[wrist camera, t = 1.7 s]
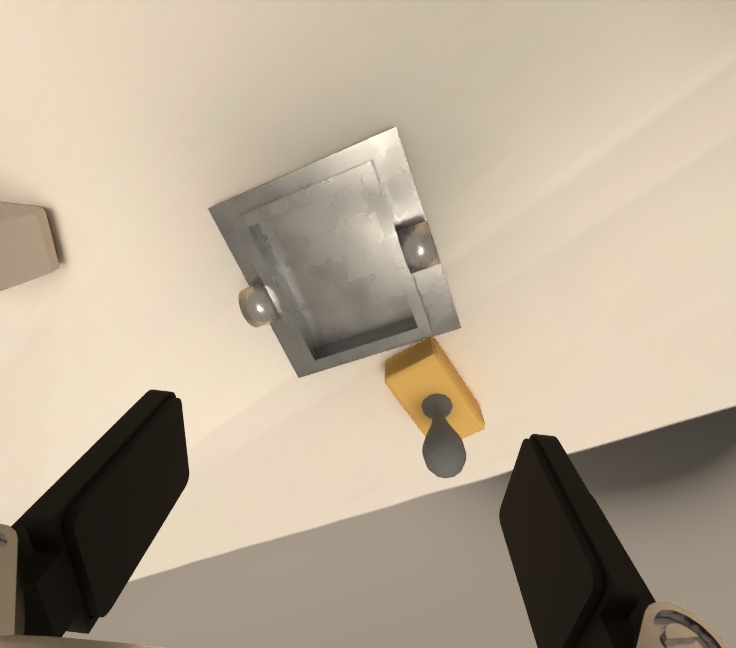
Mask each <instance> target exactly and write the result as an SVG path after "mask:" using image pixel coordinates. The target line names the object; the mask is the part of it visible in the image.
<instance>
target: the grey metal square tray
mask: <svg viewBox="0 0 736 648" xmlns="http://www.w3.org/2000/svg"><path fill="white" fill-rule="evenodd" d="M208 209H209V211H210V213H211V215H212V217H213V219H214V221H215V222H216V224H217V226H218V228H219V230H220V232H221V234H222V236H223V237H224V239H225V241H226V243H227V245H228V247H229V249H230V250H231V252H232V254H233V256H234V258H235V260H236V262H237V264H238V265H239V267H240V269H241V271H242V273H243V275H244V277H245V278H246V280H247V282H248V284H249V286H250V287H249V288H246V289H243V290H241V292H240V294H239V305H240V309H241V311H242V314H243V316H244V317H245V319H246V320H247V322H248V323H249V324H250V325H251V326H253V327H260V326H263V325H266V324H269V323H270V325H271V327H272V329H273V331H274V333H275V335H276V336H277V338H278V340H279V342H280V344H281V346H282V348H283V349H284V351H285V353H286V355H287V357H288V359H289V361H290V363H291V364H292V366H293V368H294V370H295V372H296V374H297V376H298V377H299V378H300V377H303V376H306V375H310V374H313V373H316V372H319V371H323V370H326V369H329V368H332V367H336V366H339V365H342V364H345V363H349V362H352V361H355V360H358V359H362V358H365V357H368V356H371V355H375V354H378V353H381V352H384V351H388V350H391V349H394V348H397V347H401V346H404V345H407V344H410V343H414V342H417V341H420V340H423V339H427V338H430V337H433V336H436V335H440V334H443V333H446V332H449V331H453V330H456V329H459V328H461V326H460V323H459V320H458V317H457V314H456V310H455V307H454V304H453V301H452V298H451V295H450V292H449V289H448V286H447V283H446V280H445V276H444V273H443V270H442V267H441V263H440V260H439V257H438V253H437V250H436V247H435V244H434V241H433V238H432V235H431V232H430V229H429V226H428V223H427V221H426V218H425V215H424V211H423V208H422V205H421V202H420V199H419V196H418V193H417V190H416V187H415V184H414V181H413V177H412V174H411V171H410V168H409V165H408V162H407V159H406V156H405V153H404V150H403V147H402V143H401V140H400V137H399V134H398V131H397V128H396V127H394V128H392V129H390V130H387V131H385V132H383V133H380V134H378V135H376V136H373V137H371V138H369V139H367V140H364V141H362V142H360V143H357V144H355V145H353V146H351V147H348V148H346V149H344V150H341V151H339V152H337V153H334V154H332V155H330V156H328V157H325V158H323V159H321V160H318V161H316V162H314V163H312V164H309V165H307V166H305V167H302V168H300V169H298V170H295V171H293V172H291V173H289V174H286V175H284V176H282V177H279V178H277V179H275V180H273V181H270V182H268V183H266V184H263V185H261V186H259V187H256V188H254V189H252V190H250V191H247V192H245V193H243V194H240V195H238V196H236V197H233V198H231V199H229V200H227V201H224V202H222V203H220V204H217V205H215V206H213V207H211V208H208Z"/></svg>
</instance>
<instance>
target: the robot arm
mask: <svg viewBox="0 0 736 648" xmlns="http://www.w3.org/2000/svg"><path fill="white" fill-rule="evenodd" d="M188 478H189V466H188V457H187V447H186V438H185V429H184V420H183V411H182V403H181V400H180V399H179V398H176V395H175V394H174V393H173V392H168V391H160V390H149V391H148V392H147V393H146V394H145V395H144V396H143V397H142V398H141V399H140V400H138V401H137V402H136V403H135V404H134V405H133V406H132V407H131V408H130V409H129V410H128V411H127V412H126V413H125V414H124V415H123V416H122V417H121V418H120V419H119V420H118V421H117V422H116V423H115V424H114V425H113V426H112V427H111V428H110V429H109V430H108V431H107V432H106V433H105V434H104V435H103V436H102V437H101V438H100V439H99V440H98V441H97V442H96V443H95V444H94V445H93V446H92V447H91V448H90V449H89V450H88V451H87V452H86V453H85V454H84V455H83V456H82V457H81V458H80V459H79V460H78V461H77V462H76V463H75V464H74V465H73V466H72V467H71V468H70V469H69V470H68V471H67V472H66V473H65V474H64V475H63V476H62V477H61V478H60V479H59V480H58V481H57V482H56V483H55V484H54V485H53V486H52V487H51V488H50V489H48V490H47V491H46V492H45V493H44V494H43V495H42V496H41V497H40V498H39V499H38V500H37V501H36V502H35V503H34V504H33V505H32V506H31V507H30V508H29V509H28V510H27V511H26V512H25V513H24V514H23V515H22V516H21V517H20V518H19V519H18V520H17V521H16V522H15V523H14V524H13V525H12V526H11V527H10V526H8V525H3V524H0V648H163V647H154V646H146V645H136V644H128V643H117V642H106V641H95V640H84V639H72V638H62V636H63V634H64V633H65V631H69V632H78V633H87V634H89V632H90V631H91V629H92V627H93V626H94V624H95V623H96V621H97V619H98V618H99V617H104V616H105V615H107V613H108V612H109V611H110V609H111V608H112V607H113V605H114V603H115V602H116V600H117V598H118V597H119V595H120V593H121V592H122V590H123V589H124V587H125V585H126V584H127V582H128V580H129V579H130V577H131V575H132V574H133V572H134V570H135V569H136V567H137V566H138V564H139V562H140V561H141V559H142V557H143V556H144V554H145V552H146V551H147V549H148V547H149V546H150V544H151V543H152V541H153V539H154V538H155V536H156V534H157V533H158V531H159V529H160V528H161V526H162V524H163V523H164V521H165V520H166V518H167V516H168V515H169V513H170V511H171V510H172V508H173V506H174V505H175V503H176V502H177V500H178V498H179V497H180V495H181V493H182V492H183V490H184V488H185V487H186V485H187V482H188ZM499 518H500V524H501V527H502V530H503V534H504V537H505V541H506V544H507V547H508V551H509V554H510V557H511V561H512V564H513V567H514V571H515V574H516V577H517V581H518V583H519V587H520V590H521V594H522V597H523V600H524V604H525V607H526V610H527V614H528V617H529V620H530V624H531V627H532V630H533V633H534V637H535V640H536V644H537V647H538V648H729V647H728V646H727V644H726V643H725V641H724V640H723V639H722V638H721V636H720V635H718V633H717V632H716V631H715V630H714V629H713V628H711V627H710V626H709V625H708V624H707V623H706V622H705V621H703V620H702V619H701V618H699V617H698V616H697V615H695V614H694V613H692V612H690V611H688V610H687V609H684V608H683V607H681V606H678V605H675V604H672V603H669V602H656V601H655V599H654V598H653V596H652V594H651V593H650V591H649V589H648V588H647V586H646V584H645V583H644V581H643V579H642V578H641V576H640V575H639V573H638V571H637V569H636V568H635V566H634V564H633V563H632V561H631V559H630V558H629V556H628V554H627V553H626V551H625V550H624V547H623V546H622V544H621V542H620V541H619V539H618V537H617V536H616V534H615V532H614V531H613V529H612V527H611V526H610V524H609V522H608V521H607V519H606V518H605V515H604V514H603V512H602V510H601V509H600V507H599V505H598V504H597V502H596V500H595V499H594V498H593V496H592V495H591V494H590V493H589V491H588V489H587V488H586V486H585V484H584V483H583V481H582V479H581V477H580V476H579V474H578V473H577V471H576V469H575V467H574V466H573V464H572V462H571V461H570V459H569V457H568V455H567V454H566V452H565V450H564V449H563V447H562V445H561V444H560V442H559V440H558V439H557V438H556V437H554V436H547V435H539V434H532V435H531V436H530V438H529V439H524V440H523V442H522V445H521V448H520V451H519V454H518V457H517V460H516V463H515V466H514V469H513V472H512V475H511V478H510V481H509V484H508V487H507V490H506V493H505V496H504V499H503V502H502V504H501V508H500V513H499Z"/></svg>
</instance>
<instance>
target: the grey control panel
mask: <svg viewBox="0 0 736 648" xmlns="http://www.w3.org/2000/svg"><path fill="white" fill-rule="evenodd" d="M59 267H60V266H59V262H58V258H57V254H56V250H55V247H54V243H53V239H52V235H51V231H50V227H49V223H48V219H47V215H46V212H45V210H44V209H43V208H42V207H37V206H32V205H22V204H13V203H3V202H0V291H2V290H5V289H8V288H10V287H13V286H16V285H18V284H21V283H24V282H27V281H29V280H32V279H35V278H37V277H40V276H43V275H45V274H48V273H51V272H53V271H54V270H56V269H58V268H59Z"/></svg>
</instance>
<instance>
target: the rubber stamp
mask: <svg viewBox="0 0 736 648" xmlns="http://www.w3.org/2000/svg"><path fill="white" fill-rule="evenodd" d="M385 384H386V385H387V386H388V388H389V389H390V390H391V392H392V393H393V394H394V396H395V397H396V398H397V400H398V401H399V402H400V404H401V405H402V406H403V408H404V409H405V410H406V412H407V413H408V414H409V415H410V417H411V418H412V419H413V421H414V422H415V423H416V425H417V426H418V427H419V429H420V430H421V431H422V433H423V434H424V435H425V437H426V438H425V441H424V444H423V450H422V452H423V457H424V460H425V463H426V465H427V467H428V469H429V470H430V471H431V472H432V473H434V474H435V475H436V476H438V477H442V478H450V477H454V476H456V475H457V474H458V473H460V472H461V470H462V469H463V466H464V464H465V461H466V452H465V448H464V445H463V442H462V439H463V438H465V437H467V436H470V435H472V434H474V433H476V432H479V431H481V430H483V429H484V426H485V422H484V419H483V416H482V412H481V409H480V406H479V404H478V403H477V401H476V400H475V398H474V397H473V395H472V394H471V392H470V391H469V389H468V388H467V386H466V385H465V383H464V382H463V380H462V379H461V377H460V376H459V374H458V373H457V371H456V370H455V368H454V367H453V365H452V364H451V362H450V361H449V359H448V358H447V356H446V355H445V353H444V352H443V350H442V349H441V347H440V346H439V344H438V343H437V341H436V340H435V339H434V338H432V337H430V338H427V339H426V340H424V341H422V342H420V343H418V344H416V345H414V346H413V347H411V348H409V349H407V350H405V351H403V352H402V353H400V354H398V355H396V356H394V357H392V358H390V359H389V360H387V361H386V366H385Z"/></svg>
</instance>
